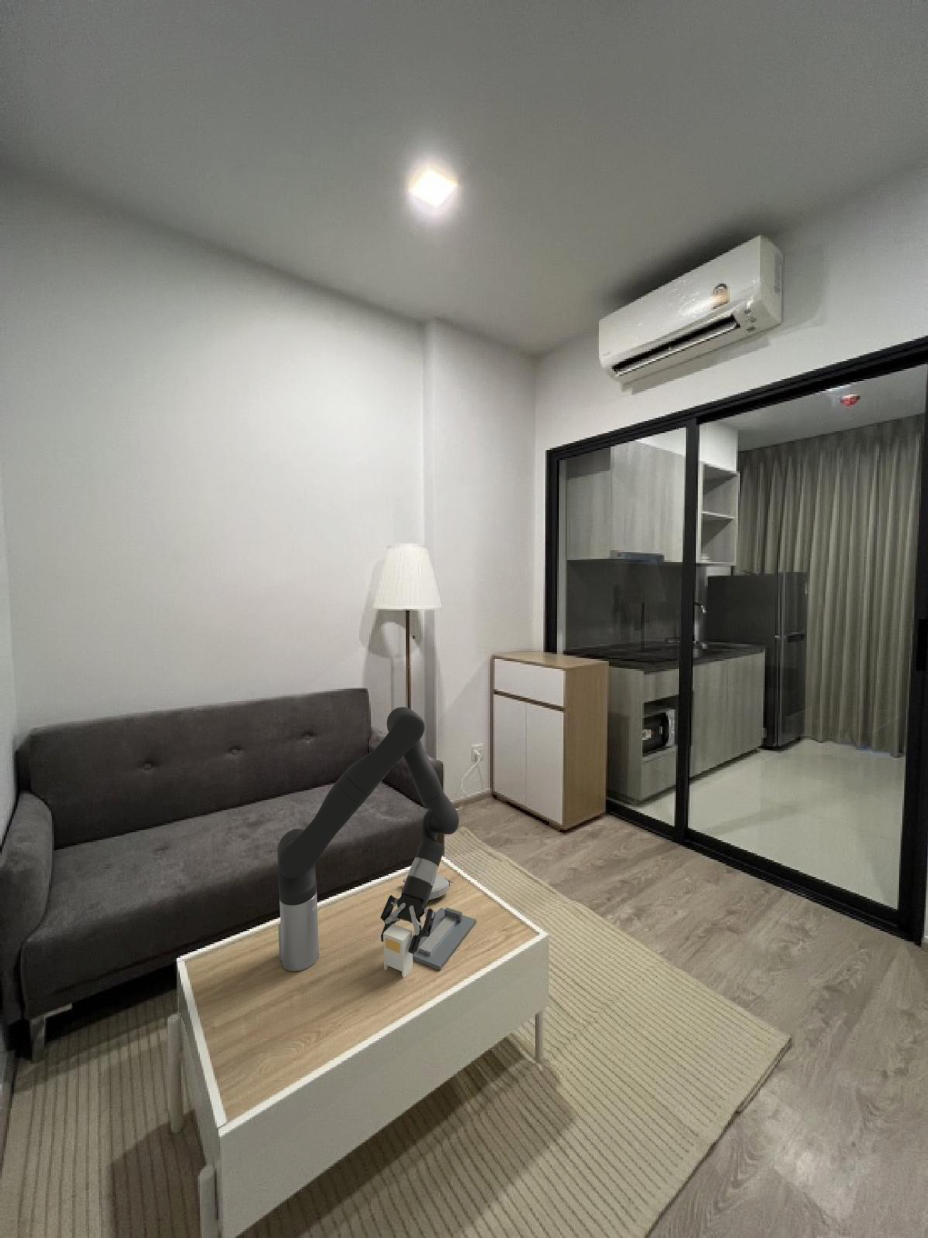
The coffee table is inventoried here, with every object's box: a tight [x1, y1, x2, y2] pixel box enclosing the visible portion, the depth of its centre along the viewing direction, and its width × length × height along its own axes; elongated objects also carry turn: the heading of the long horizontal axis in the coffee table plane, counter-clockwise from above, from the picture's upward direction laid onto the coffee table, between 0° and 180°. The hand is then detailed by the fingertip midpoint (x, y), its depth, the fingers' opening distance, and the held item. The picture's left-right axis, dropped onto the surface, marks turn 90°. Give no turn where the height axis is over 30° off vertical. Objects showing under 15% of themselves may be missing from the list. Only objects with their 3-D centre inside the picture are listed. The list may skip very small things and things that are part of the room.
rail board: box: [413, 907, 477, 971], centre depth 133 cm, size 12×20×1 cm, turn 152°
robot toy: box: [402, 875, 456, 901], centre depth 155 cm, size 12×4×15 cm
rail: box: [419, 907, 463, 956], centre depth 133 cm, size 5×16×2 cm, turn 152°
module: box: [382, 923, 414, 978], centre depth 123 cm, size 6×4×9 cm
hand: (397, 947), depth 122 cm, fingers open, 8 cm apart
